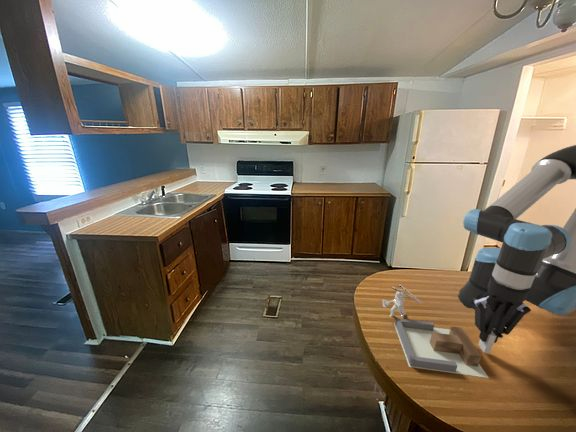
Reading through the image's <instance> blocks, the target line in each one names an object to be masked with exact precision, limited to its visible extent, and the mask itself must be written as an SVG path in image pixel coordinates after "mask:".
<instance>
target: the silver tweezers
mask: <svg viewBox="0 0 576 432" xmlns="http://www.w3.org/2000/svg"><path fill="white" fill-rule="evenodd" d="M396 286H397V284H396ZM399 286H401V287H402V288H403V289H404V290H406V291H407V292H408V293H410V294H411V295H412V296H411V295H410V294H408V293H407V292H406V291H404V290H403V289H402V290H403V291H402V290H401V289H399V288H397V287H395V286H394V285H392V286H391V287H392V288H391V289H393V290H395V289H396V290H395V291H397V290H398V291H400V292H401V293H404V294H405V295H404V296H406V297H408V298H409V299H412V300H413V301H416V302H417V304H418V303H419V304H423V301H421V300H420V299H418V297H416V296H415V295H414V294H412V292H410V291H409V290H408V289H407V288H406V287H404V286H403V285H402V284H399ZM399 286H398V287H399ZM401 287H400V288H401ZM398 291H397V292H398Z"/></svg>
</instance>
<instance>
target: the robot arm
mask: <svg viewBox="0 0 576 432" xmlns="http://www.w3.org/2000/svg"><path fill="white" fill-rule="evenodd" d="M568 180H576V144H574V145H573V144H572V145H571V146H568V147H564V148H561V149H559V150H556V151H554V152H552V153H549V154H547V155H546V156H544V157H542V158H541V159H539V160H537V162H535V163H534V165H532V167H531V171H530V172H529V173H528V174H525V176H524V177H522V179H520V180H519V181H518V182H516V183H515V184H514V185H513V186H511V188H510V189H508V190H507V191H506V192H504V193H503V194H502V195H501V196H500V197H499V198H498V199H496V200H495V201H494V202H493V203H492V204H490V205H489V206H488V207H486V208H485V209H484V210H482V209H476V208H473V209H470V210H469V211H468V212H466V214H465V216H464V218H463V220H462V222H463V223H462V224H463V225H462V226H463V228H464V230H466V231H468V232H471V233H473V234H475V235H477V236H481V237H485V238H487V239H491V240H494V241H496V242H499V243H501V247H494V246H493V247H492V246H491V247H489V246H488V247H483V248H480V249H479V250H478V251H477V254H476V257H474V262H473V266H472V267H471V268H472V269H471V271H470V276H469V278H468V281H467V282H466V283H465V284H464V286H462V287H461V288H460V290H459V292H458V295H457V296H458V300H459V301H460V302H461V304H462V305H463V306H465V307H466V308H468V309H473V310H474V325H475V326H476V328H477V330H478V331H479V336H478V338H479V342H478V344H477V345H478V347H479V348H480V349H481V351H482V352H483V353H485V354H490V353H491V351H492V348H493V346H494V344H495V343H497V342H498V339H502V338H504V335H506V336H507V335H510V333H511V332H512V331H513V330H514V329H515V328H516V326H517V325H518V323H520V321H521V320H522V319H523V317H524V316H526V315H527V314H529V313H530V312H531V311H532V309H531V308H530V307H529V306H528V305H527V304H525V303H524V302H527V303H529V304H531V305H534V306H536V307H537V308H538V309H541V310H543V311H547V312H548V313H551V314H553V315H557V316H565V315H568V314H570V313H571V312H573V311H574V310H576V208H574V210H573V212H572V213H571V215H570V217H569V218H568V219H567V221H566V222H565V224H564V225H563V227H562V226H559V225H555V224H543V225H542V224H541V225H540V224H536V223H532V222H530V221H529V222H527V221H525V220H520V219H518V218H519V217H520V216H522V215H523V214H524V213H526V211H528V210H529V209H530V208H531V207H533V205H535V204H536V203H537V202H538V201H539V200H540V199H542V197H544V196H545V195H546V194H547V193H549V192H550V191H551V190H552V189H553V188H555V186H556V185H560V184H563V183H566V182H567V181H568Z"/></svg>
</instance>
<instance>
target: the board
mask: <svg viewBox="0 0 576 432" xmlns="http://www.w3.org/2000/svg"><path fill="white" fill-rule="evenodd" d="M393 326H394V328H395V331H396V335H397V336H398V339H399V342H400V345H401V348H402V350H403V354H404V355H405V356H404V357H405V359H406V362H407V364H408V368H414V369H415V368H416V369H421V370H429V371H430V370H431V371H436V372H443V373H450V374H458V375H465V376H473V377H479V378H487V379H489V376H488V374H487V373H486V372H485V370H484V369H483V367H482V366H481V364H480V363H479V364H478V367H476V366H469V365H466V364H465V363H464V361H463V359H462V358H461V356H460V355H459V354H455V353H447V352H440V351H434V350H433V348H432V346H431V344H430V339H431V335H432V333H441V334H449V332H450V329H451V328H450V329H449V328H442V327H441V328H440V327H435V323H434V322H433V321H427V320H426V321H424V320H416V319H415V320H414V319H406V318H395V322H393Z"/></svg>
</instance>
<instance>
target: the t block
mask: <svg viewBox="0 0 576 432" xmlns="http://www.w3.org/2000/svg"><path fill="white" fill-rule="evenodd" d="M430 344H431V346H432V348H433V350H434V351H440V352H447V353H455V354H459V355H460V356H461V358H462V359H463V361H464V363H465V364H466V365H469V366H476V367H478V364H480V362H481V358H482V355H481V353H480V352H479V350H478V349H477V348H476V346H475V345H474V343H473V342H472V340H471V339H470V337H469V336H468V335H467V333H466V332H465V331H464V328H463V327H459V326H452V325H451V326H450V332H449V334H441V333H432V335H431V339H430Z"/></svg>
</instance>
